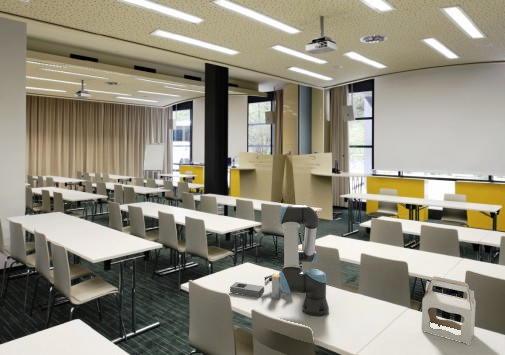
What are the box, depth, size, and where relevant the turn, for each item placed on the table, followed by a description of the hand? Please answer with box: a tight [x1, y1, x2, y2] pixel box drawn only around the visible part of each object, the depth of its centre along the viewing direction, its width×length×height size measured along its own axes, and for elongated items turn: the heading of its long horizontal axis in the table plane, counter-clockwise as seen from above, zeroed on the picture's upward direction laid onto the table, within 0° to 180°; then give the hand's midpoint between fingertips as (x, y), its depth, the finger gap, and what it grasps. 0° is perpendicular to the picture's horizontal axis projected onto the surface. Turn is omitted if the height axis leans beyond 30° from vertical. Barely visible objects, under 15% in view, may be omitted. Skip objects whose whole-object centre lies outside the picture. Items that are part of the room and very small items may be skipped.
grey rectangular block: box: [229, 282, 265, 298], centre depth 243 cm, size 20×9×4 cm, turn 68°
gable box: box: [420, 276, 477, 345], centre depth 190 cm, size 22×13×28 cm, turn 52°
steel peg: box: [271, 273, 282, 300], centre depth 235 cm, size 4×4×14 cm
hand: (275, 285), depth 234 cm, fingers open, 13 cm apart
